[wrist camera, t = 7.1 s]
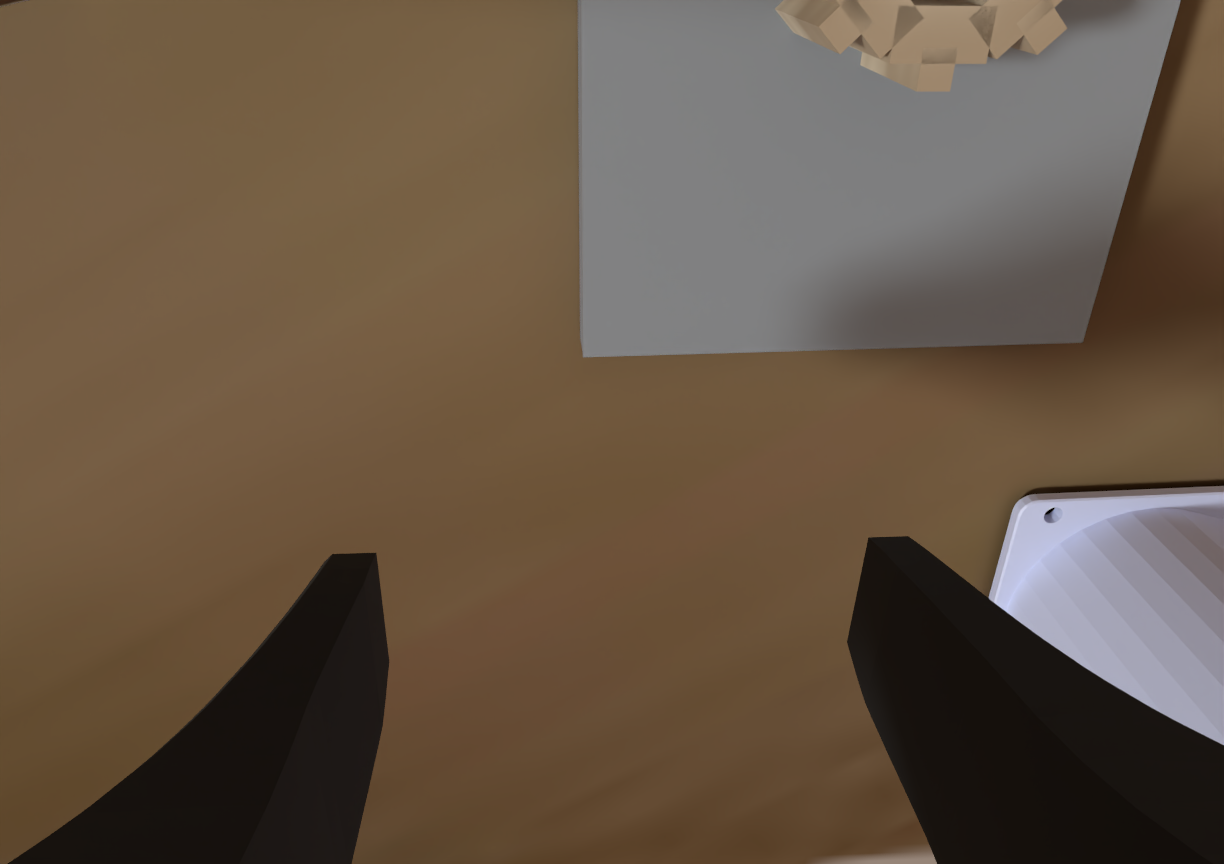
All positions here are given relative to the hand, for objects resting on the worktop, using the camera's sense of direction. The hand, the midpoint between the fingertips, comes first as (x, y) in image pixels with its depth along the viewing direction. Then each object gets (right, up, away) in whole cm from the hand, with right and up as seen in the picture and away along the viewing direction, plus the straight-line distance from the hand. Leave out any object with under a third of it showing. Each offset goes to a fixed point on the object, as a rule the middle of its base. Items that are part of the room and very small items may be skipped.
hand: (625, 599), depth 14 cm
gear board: (+5, +15, +4) cm, 16 cm away
